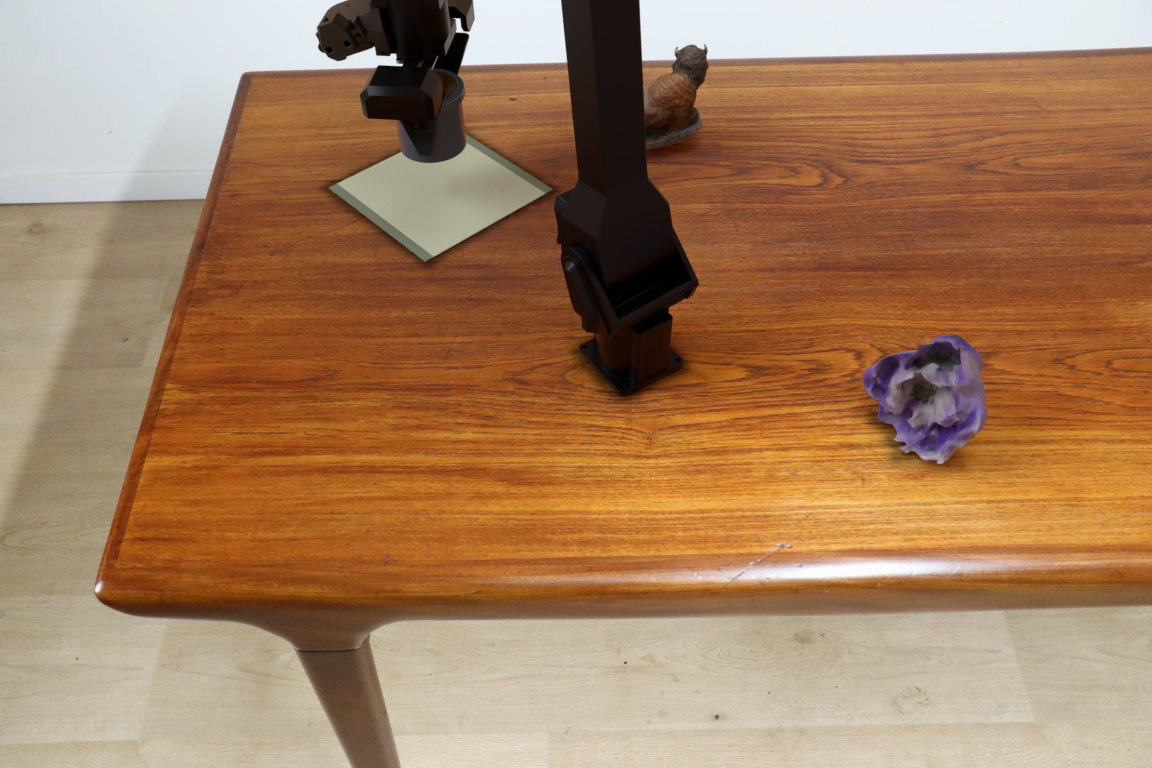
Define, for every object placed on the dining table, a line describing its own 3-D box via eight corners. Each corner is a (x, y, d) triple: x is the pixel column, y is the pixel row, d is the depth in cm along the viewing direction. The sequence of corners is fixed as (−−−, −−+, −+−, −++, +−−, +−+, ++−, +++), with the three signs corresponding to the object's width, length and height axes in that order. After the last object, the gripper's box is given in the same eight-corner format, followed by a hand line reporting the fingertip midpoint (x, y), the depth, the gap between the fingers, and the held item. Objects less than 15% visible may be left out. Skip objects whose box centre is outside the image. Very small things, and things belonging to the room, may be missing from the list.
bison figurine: (602, 170, 97) (603, 81, 90) (582, 134, 102) (582, 45, 94) (711, 150, 99) (721, 61, 92) (687, 115, 104) (695, 28, 96)
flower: (938, 290, 74) (926, 321, 66) (1022, 366, 73) (1020, 407, 65) (854, 368, 79) (832, 406, 70) (932, 440, 78) (919, 488, 69)
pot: (484, 149, 91) (478, 92, 86) (416, 174, 88) (407, 116, 83) (448, 116, 95) (441, 59, 90) (383, 138, 92) (372, 82, 88)
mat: (552, 189, 95) (552, 189, 95) (425, 262, 88) (425, 261, 88) (453, 126, 103) (453, 126, 103) (328, 188, 96) (328, 187, 96)
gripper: (347, -77, 86) (376, 80, 98) (280, 21, 74) (322, 187, 85) (467, -73, 85) (482, 85, 97) (420, 27, 73) (444, 195, 84)
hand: (433, 134), depth 91 cm, fingers closed on pot, 6 cm apart
